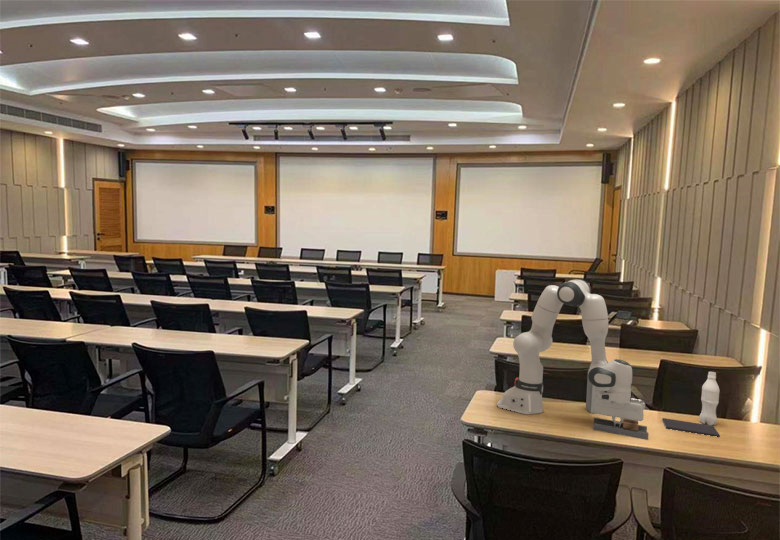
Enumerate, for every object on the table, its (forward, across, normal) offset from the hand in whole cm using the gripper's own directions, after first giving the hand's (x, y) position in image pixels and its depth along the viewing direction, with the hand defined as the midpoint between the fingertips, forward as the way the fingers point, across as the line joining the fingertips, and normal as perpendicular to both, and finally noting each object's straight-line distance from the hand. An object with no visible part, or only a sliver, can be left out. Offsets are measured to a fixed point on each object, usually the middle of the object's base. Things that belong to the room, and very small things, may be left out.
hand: (617, 426), depth 225 cm
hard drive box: (+2, +6, -24) cm, 25 cm away
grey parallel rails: (+2, -1, 0) cm, 2 cm away
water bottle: (+2, -40, -33) cm, 52 cm away
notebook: (+2, -31, -21) cm, 38 cm away
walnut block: (+2, -5, 0) cm, 5 cm away
